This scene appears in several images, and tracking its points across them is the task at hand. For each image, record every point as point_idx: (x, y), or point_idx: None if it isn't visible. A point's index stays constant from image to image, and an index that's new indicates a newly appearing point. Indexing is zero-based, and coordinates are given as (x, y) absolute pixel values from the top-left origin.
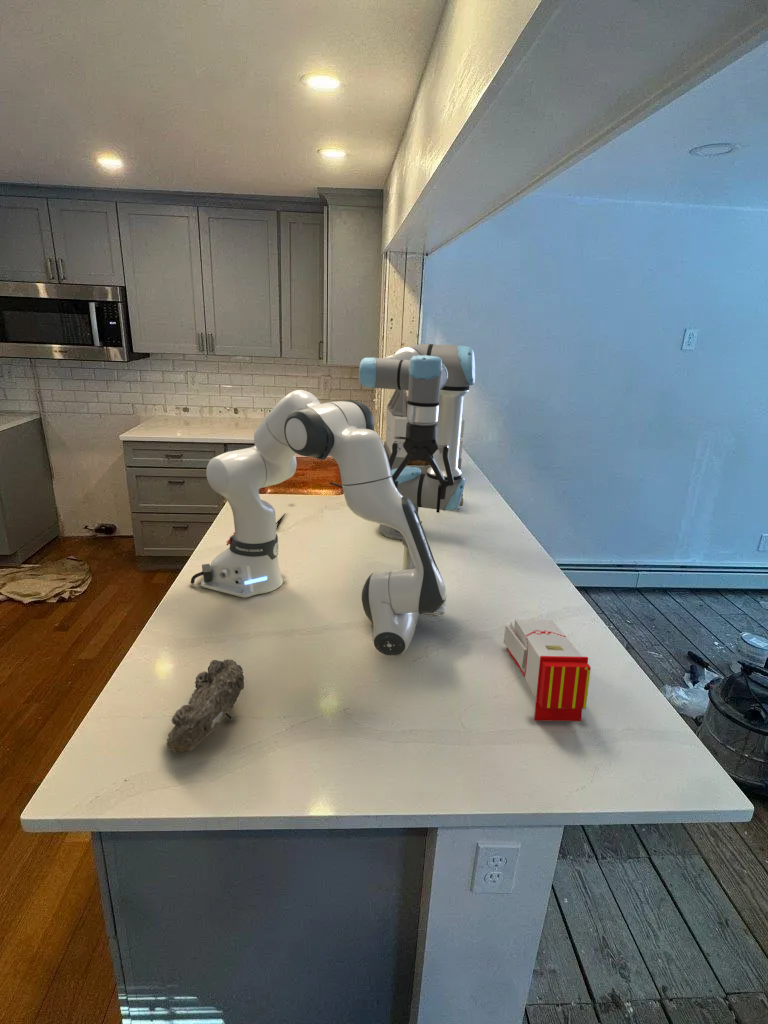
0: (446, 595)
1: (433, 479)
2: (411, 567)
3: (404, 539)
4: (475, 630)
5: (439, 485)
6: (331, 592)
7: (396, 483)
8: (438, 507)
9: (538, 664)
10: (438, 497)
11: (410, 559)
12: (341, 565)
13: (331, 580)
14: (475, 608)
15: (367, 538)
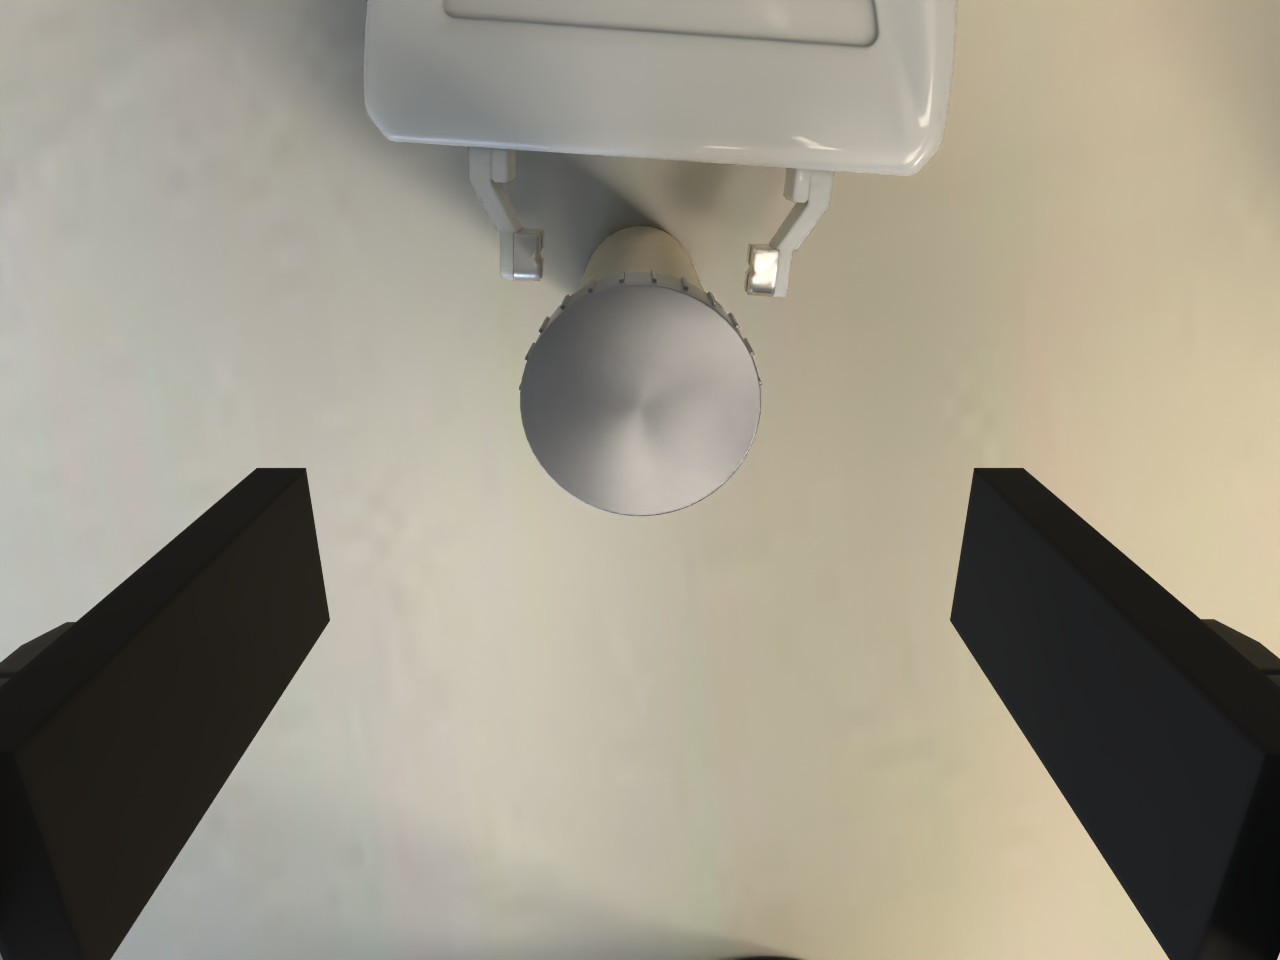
0: (364, 96)
1: None
2: (642, 260)
3: (740, 337)
4: (218, 31)
5: (48, 928)
6: (1113, 316)
7: (1269, 816)
8: (236, 503)
9: None
10: (147, 596)
11: (656, 271)
12: None
13: (1116, 459)
14: (260, 305)
15: (930, 948)
